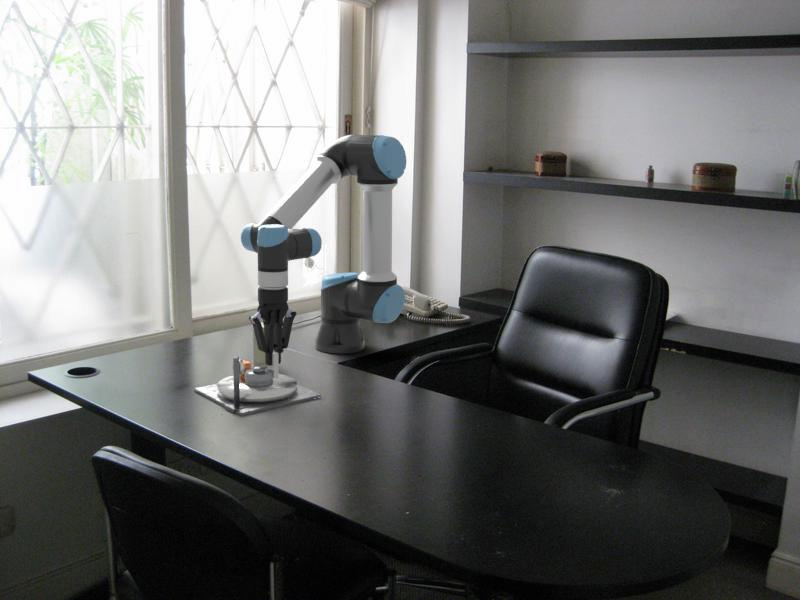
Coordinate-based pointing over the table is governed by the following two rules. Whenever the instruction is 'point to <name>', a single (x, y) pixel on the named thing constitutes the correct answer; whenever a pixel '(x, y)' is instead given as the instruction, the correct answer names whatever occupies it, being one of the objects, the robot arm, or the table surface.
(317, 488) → the table surface
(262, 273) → the robot arm
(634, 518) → the table surface
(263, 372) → the cover
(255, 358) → the skincare box
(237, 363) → the post
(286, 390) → the platter
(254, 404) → the turntable base
